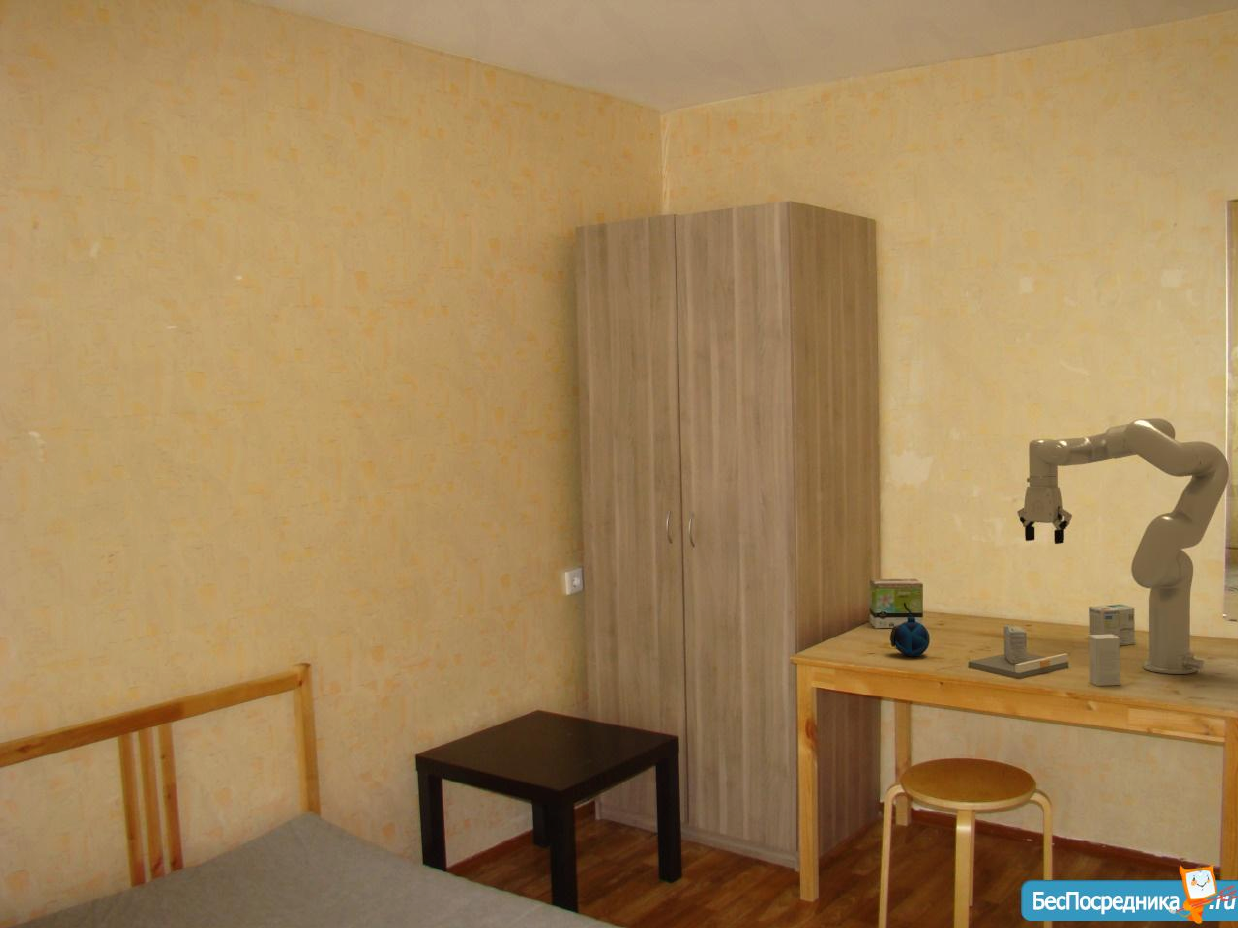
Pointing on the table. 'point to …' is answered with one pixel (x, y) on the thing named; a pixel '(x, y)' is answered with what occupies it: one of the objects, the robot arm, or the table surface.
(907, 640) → the bomb
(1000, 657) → the shelf board
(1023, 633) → the medicine box
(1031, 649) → the table surface
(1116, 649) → the skincare box
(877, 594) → the tea box
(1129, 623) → the light bulb box
